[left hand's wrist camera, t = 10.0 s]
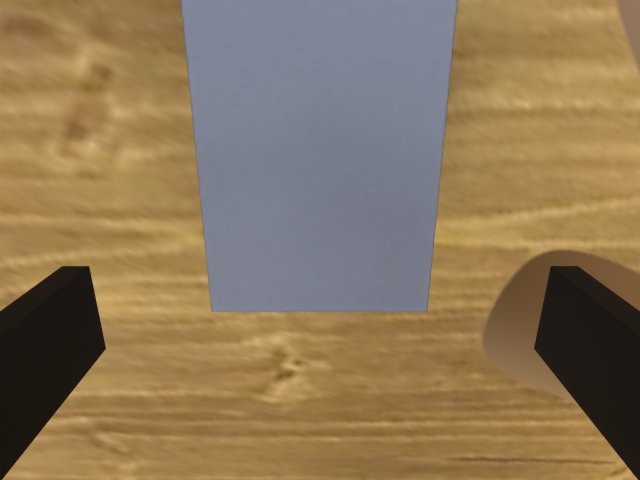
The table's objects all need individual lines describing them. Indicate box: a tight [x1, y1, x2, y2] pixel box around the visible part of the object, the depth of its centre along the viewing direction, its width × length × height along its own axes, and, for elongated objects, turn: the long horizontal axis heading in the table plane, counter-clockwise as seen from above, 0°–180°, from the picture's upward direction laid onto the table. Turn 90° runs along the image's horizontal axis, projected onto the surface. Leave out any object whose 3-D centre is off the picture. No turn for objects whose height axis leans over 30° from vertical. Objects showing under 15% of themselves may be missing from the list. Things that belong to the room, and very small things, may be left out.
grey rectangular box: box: [181, 0, 457, 312], centre depth 22 cm, size 21×10×10 cm, turn 0°
